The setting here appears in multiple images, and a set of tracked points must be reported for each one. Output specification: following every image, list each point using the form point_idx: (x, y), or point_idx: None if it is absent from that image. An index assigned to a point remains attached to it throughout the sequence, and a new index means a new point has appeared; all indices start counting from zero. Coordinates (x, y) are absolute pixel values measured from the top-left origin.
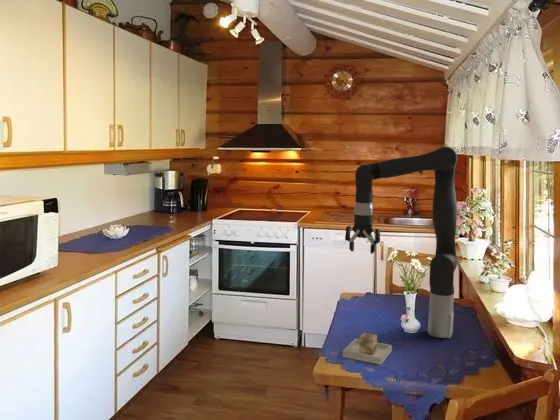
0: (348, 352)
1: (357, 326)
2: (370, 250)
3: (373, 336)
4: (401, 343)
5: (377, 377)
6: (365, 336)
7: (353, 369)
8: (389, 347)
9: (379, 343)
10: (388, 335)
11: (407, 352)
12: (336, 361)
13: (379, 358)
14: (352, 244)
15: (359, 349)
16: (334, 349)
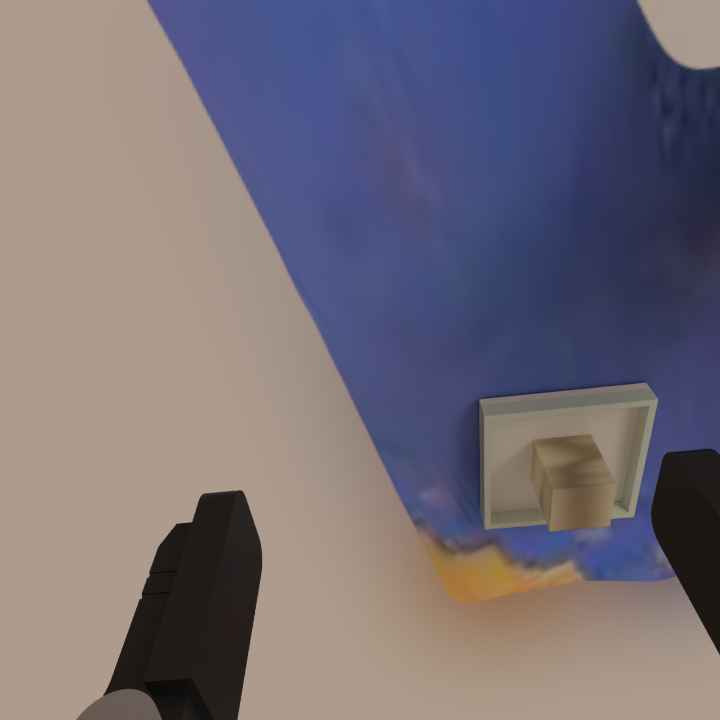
0: (506, 525)
1: (385, 167)
2: (678, 578)
3: (604, 503)
4: (680, 269)
5: (629, 561)
6: (571, 518)
7: (545, 555)
8: (651, 425)
9: (600, 410)
10: (595, 199)
11: (715, 351)
12: (474, 539)
13: (627, 515)
14: (237, 698)
15: (535, 490)
16: (423, 473)
